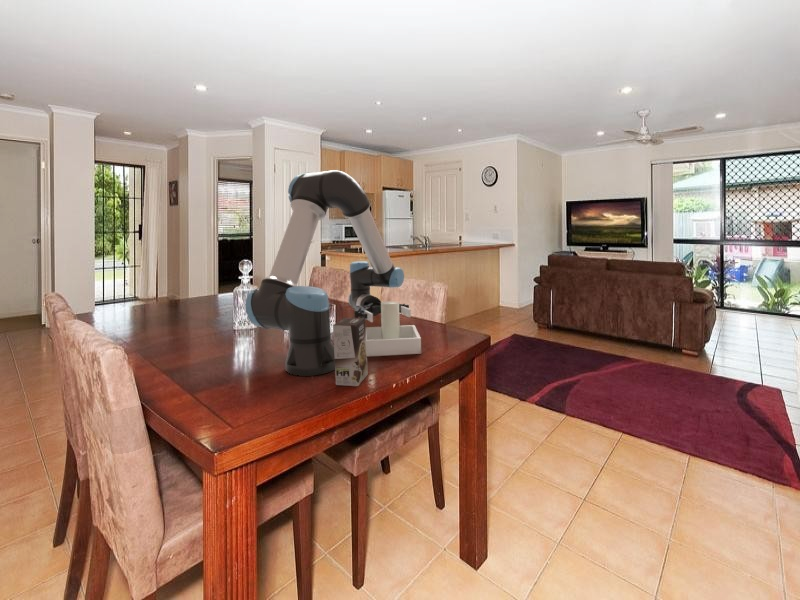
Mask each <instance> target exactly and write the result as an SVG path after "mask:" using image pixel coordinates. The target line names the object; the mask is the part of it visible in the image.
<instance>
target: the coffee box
mask: <svg viewBox="0 0 800 600" xmlns="http://www.w3.org/2000/svg"><path fill="white" fill-rule="evenodd" d="M332 330H333V333H332V334H333V335H332V336H333V347H334V358H335V370H334V374H335V375H334V376H335V386H346V387H347V386H349V387H358V386H360V385H361V383H362V382H363V381H364V380H365V378H366V377H367V376H368V356H367V349H366V319H365V318H360V317H358V318H355V317H344V318H342V319H339V321H337V322H336V323H334V324H333V325H332Z"/></svg>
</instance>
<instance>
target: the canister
mask: <svg viewBox="0 0 800 600" xmlns="http://www.w3.org/2000/svg"><path fill="white" fill-rule="evenodd" d="M399 304H400V301H393V300H388V301H381V313H380V318H381V319H380V320H381V326H380V327H382V339H398V338H400V326H401V325H400V313H399Z"/></svg>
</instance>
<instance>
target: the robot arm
mask: <svg viewBox="0 0 800 600" xmlns="http://www.w3.org/2000/svg"><path fill="white" fill-rule="evenodd" d="M287 189H288V190H287V193H288V194H289V195H288V200H289V202H290V208H291V209H292V212H291V213H292V214H291V216H290V218H289V221H288V225H287V227H286V230H285V231H284V234H283V238H282V239H281V243H280V246H279V249H278V251H277V254H276V256H275V260H274V262H273V265H272V267H271V270H270V274H269V276H266V277H264V278H262V280H261V282H260V285H259V287H258V288H255V289H253V290H252V291H250V292H249V293H248V294H247V296H246V299H245V303H244V304H245V305H244V309H245V313H246V316H247V318H248V320H249V322H250V323H251V324H253V325H254V326H256V327H259V328H263V329H266V330H273V329H274V330H280V331H286V332H287V331H288V333H289V334H288V335H289V346H288V350H287V355H286V359H285V363H284V365H285V372H286V371H287V372H288V374H289V373H290V374H289V375H292V374H293V375H292V376H297V375H299V377H311V376H318V375H324V374H327V373H330V372H333V371H335V358H334V343H333V342H332V337H331V333H332V332H331V318H330V317H331V315H330V303H329V302H330V301H329V295H328V293H327V292H326V290H324V289H322V288H320V287H316V286H309V285H305V286H304V285H298V282H299V280H300V276H301V273H302V271H303V267H304V264H305V262H306V259H307V256H308V252H309V250H310V246H311V244H312V241H313V240H314V239H313V238H314V235H315V233H316V229H317V227H318V223H319V221H321V220H324V219H325V217H326V215H327V213H328V209H331V208H332V209H334V208H335V209H339V210H340V211H341V213H342V215H343V216H344V217H345V218H348V219H349V222H350V224H351V226H352V229H353V231H354V232H355V235H356V236H357V239H358V241H359V243H360V245H361V247H362V249H363V251H364V254H365V255H366V258H367V260H368V261H363V260H362V261H361V260H358V261H357V260H356V261H353V262H351V263H350V264H349V267H350V268H349V277H350V278H349V279H350V294H349V295H348V304H349V306H351V308H352V309H353V310H354V312H353V314H354V315H353V316H354V318H365V321H368V322H370V323H373V322H374V317H376V316H378V315H379V314H381V302H382V301H381V300H380V298H378V297H376V296H374V295H372V294H371V287H377V288H378V287H379V288H389V289H391V288H400V287H402V286H403V283H404V281H405V272H404V270H403V268H401V267H397V266H394V264H393V261H392V259H391V257H390V255H389V254H390V253H389V252H388V249H387V247H386V245H385V242H384V241H383V238H382V236H381V233H380V231H379V229H378V226H377V225H376V221H375V220H374V216H373V214H372V212H371V210H370V207H371V202H370V200H369V198H368V195H367V194H366V191H365V190H364V189H363V188H362V186H361V185H360V184H359V182H357V181H356V180H355V178H353V177H352V176H351V175H349V174H348V173H346V172H344V171H341V170H337V169H336V170H335V169H333V170H328V171H327V170H324V171H318V172H317V171H316V172H304V173H301V174H298V175H296V176H294V177H293V179H291V181H290V182H289V185H288V188H287ZM409 306H410V304H406V303H399V314H400V315H403V316H405V317H407V318H411V317H412V311H411V310H412V309H411V308H410V307H409Z"/></svg>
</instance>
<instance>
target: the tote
mask: <svg viewBox="0 0 800 600" xmlns="http://www.w3.org/2000/svg"><path fill="white" fill-rule="evenodd" d="M365 327H366V326H365ZM366 349H367V357H381V356H400V355H401V356H402V355H416V354H417V355H419V354H422V337H421V335H420V333H419V332H418V329H417V327H416V325H415V324H411V325H409V324H408V325H406V324H405V325H400V338H398V339H382V326H369V327H368V326H367V327H366Z"/></svg>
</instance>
